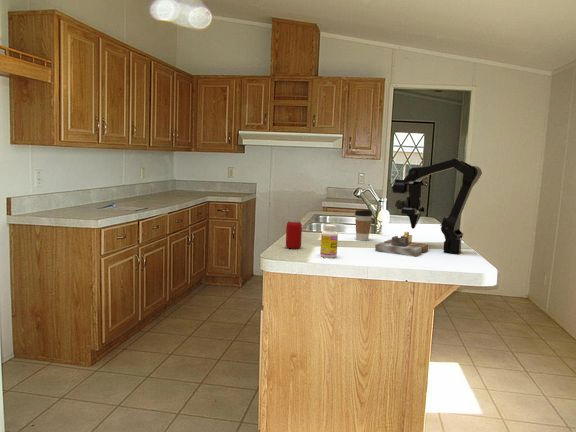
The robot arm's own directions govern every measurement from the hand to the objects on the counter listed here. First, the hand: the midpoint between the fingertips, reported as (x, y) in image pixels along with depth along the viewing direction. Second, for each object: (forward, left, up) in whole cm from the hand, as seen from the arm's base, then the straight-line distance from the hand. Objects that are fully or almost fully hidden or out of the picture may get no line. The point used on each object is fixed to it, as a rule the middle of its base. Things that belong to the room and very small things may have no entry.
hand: (413, 228), depth 228 cm
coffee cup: (+26, -3, -9) cm, 28 cm away
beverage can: (+40, +40, -9) cm, 58 cm away
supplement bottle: (+19, +47, -9) cm, 52 cm away
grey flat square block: (0, +13, -9) cm, 16 cm away
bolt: (0, +8, -6) cm, 10 cm away
